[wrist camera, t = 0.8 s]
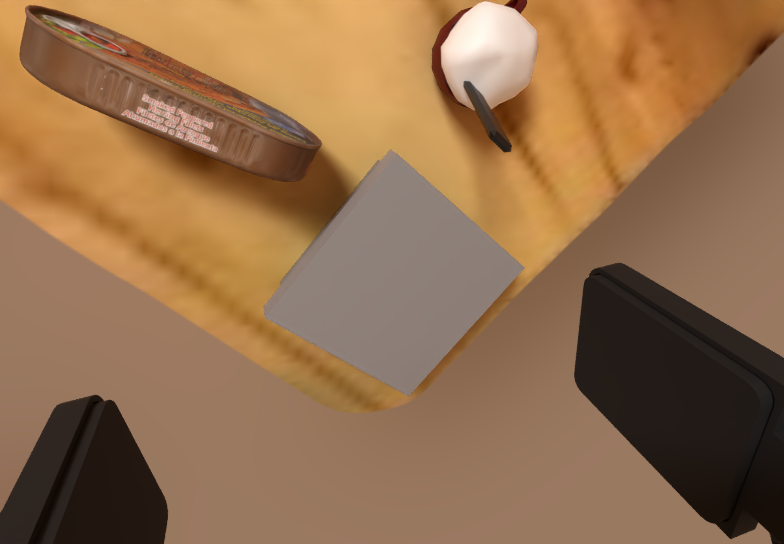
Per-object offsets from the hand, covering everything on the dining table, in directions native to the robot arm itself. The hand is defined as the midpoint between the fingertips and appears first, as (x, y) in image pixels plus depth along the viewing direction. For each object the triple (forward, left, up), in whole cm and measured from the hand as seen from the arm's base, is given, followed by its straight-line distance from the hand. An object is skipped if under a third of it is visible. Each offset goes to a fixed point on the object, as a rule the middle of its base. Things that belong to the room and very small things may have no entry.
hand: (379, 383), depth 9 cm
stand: (+2, +12, -26) cm, 29 cm away
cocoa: (-13, +6, -26) cm, 30 cm away
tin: (+1, -6, -27) cm, 27 cm away
